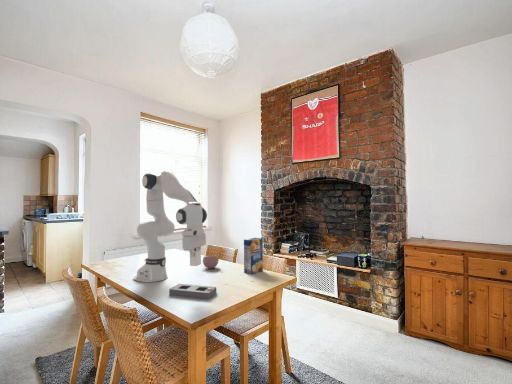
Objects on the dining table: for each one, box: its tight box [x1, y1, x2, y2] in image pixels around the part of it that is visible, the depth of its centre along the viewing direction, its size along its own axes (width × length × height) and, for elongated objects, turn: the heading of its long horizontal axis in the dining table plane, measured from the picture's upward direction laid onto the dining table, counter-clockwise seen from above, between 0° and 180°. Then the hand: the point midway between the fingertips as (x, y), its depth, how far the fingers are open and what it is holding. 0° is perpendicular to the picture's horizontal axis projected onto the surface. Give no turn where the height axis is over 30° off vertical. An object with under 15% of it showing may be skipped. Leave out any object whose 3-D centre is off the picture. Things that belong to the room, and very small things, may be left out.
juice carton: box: [243, 237, 264, 275], centre depth 202 cm, size 12×8×24 cm, turn 135°
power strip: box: [168, 283, 217, 300], centre depth 154 cm, size 24×10×5 cm, turn 74°
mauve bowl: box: [202, 252, 220, 269], centre depth 213 cm, size 12×12×12 cm
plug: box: [189, 248, 202, 267], centre depth 154 cm, size 4×4×10 cm
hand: (195, 255), depth 154 cm, fingers closed on plug, 4 cm apart
